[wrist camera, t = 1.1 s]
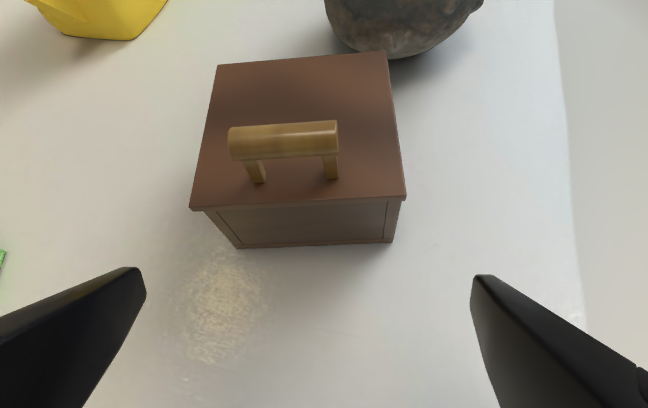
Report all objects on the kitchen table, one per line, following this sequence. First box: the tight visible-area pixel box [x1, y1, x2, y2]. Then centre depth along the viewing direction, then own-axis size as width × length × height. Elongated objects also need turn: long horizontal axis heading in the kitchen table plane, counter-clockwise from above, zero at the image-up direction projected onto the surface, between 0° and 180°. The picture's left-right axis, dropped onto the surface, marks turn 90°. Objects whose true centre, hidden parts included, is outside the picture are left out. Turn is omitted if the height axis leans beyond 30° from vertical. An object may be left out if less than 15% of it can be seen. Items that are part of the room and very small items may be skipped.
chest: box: [203, 201, 402, 249], centre depth 24 cm, size 11×12×7 cm
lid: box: [189, 50, 407, 212], centre depth 19 cm, size 11×12×4 cm
